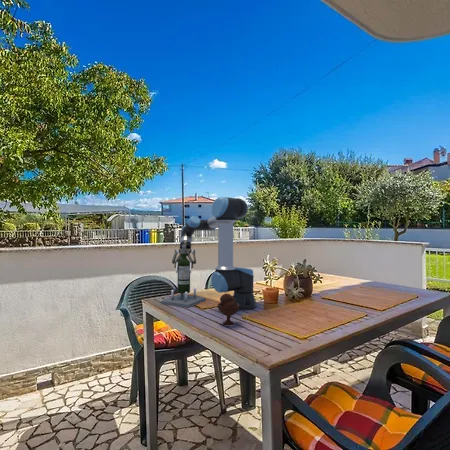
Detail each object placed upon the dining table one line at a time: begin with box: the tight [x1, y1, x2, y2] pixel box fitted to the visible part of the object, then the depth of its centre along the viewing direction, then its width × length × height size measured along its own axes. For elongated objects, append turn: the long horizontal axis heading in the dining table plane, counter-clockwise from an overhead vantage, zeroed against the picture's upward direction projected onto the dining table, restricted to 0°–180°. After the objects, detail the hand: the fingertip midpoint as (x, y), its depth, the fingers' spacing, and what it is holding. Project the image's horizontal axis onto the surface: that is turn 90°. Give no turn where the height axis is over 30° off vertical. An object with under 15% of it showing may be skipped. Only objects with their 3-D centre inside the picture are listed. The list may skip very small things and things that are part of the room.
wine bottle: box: [176, 245, 191, 295], centre depth 184 cm, size 8×8×30 cm
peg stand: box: [160, 288, 207, 309], centre depth 183 cm, size 20×20×8 cm
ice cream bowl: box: [217, 293, 240, 326], centre depth 142 cm, size 11×11×15 cm
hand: (183, 271), depth 180 cm, fingers closed on wine bottle, 8 cm apart
